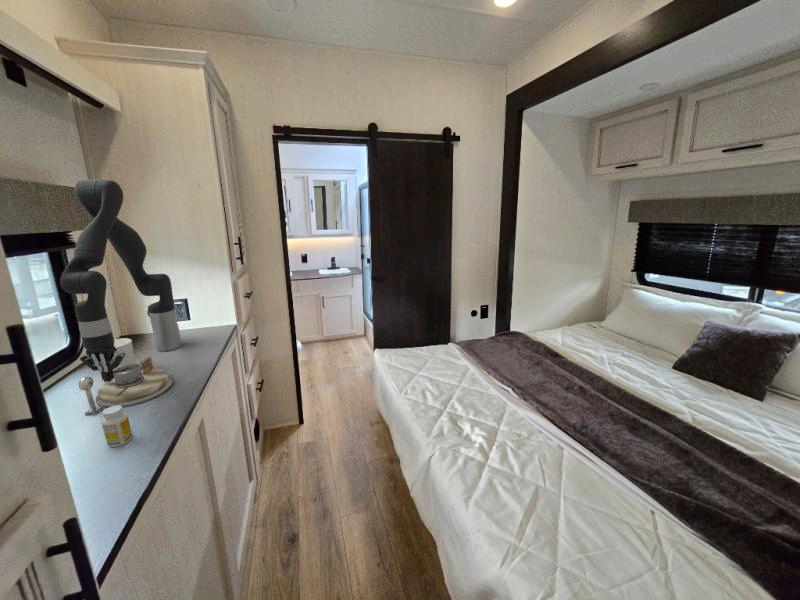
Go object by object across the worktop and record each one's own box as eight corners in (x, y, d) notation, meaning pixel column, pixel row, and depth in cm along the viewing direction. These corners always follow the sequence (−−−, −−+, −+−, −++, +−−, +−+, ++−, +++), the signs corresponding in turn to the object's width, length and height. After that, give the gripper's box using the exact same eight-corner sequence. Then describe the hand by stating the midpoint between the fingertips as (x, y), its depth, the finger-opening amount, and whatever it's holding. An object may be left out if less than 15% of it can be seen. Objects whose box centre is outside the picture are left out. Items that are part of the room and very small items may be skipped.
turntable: (125, 375, 125) (120, 358, 123) (180, 371, 127) (176, 355, 125) (83, 405, 106) (78, 386, 104) (149, 400, 108) (144, 382, 107)
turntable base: (124, 377, 126) (123, 375, 126) (184, 374, 128) (183, 371, 128) (78, 410, 106) (78, 407, 105) (150, 405, 108) (150, 403, 107)
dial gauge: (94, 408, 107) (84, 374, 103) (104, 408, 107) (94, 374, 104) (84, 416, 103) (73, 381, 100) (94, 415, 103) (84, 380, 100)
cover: (125, 377, 119) (121, 364, 117) (149, 376, 120) (146, 363, 118) (109, 389, 111) (105, 375, 110) (135, 387, 112) (131, 373, 111)
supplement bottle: (110, 450, 88) (101, 418, 86) (105, 441, 92) (96, 410, 89) (135, 439, 92) (127, 408, 90) (130, 431, 95) (122, 401, 93)
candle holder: (120, 379, 124) (112, 349, 121) (98, 377, 126) (90, 347, 123) (144, 367, 133) (138, 339, 130) (124, 365, 135) (117, 337, 132)
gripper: (126, 327, 114) (137, 374, 119) (83, 329, 113) (96, 376, 118) (110, 335, 107) (122, 385, 112) (64, 337, 106) (78, 387, 110)
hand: (109, 380), depth 115 cm, fingers closed
